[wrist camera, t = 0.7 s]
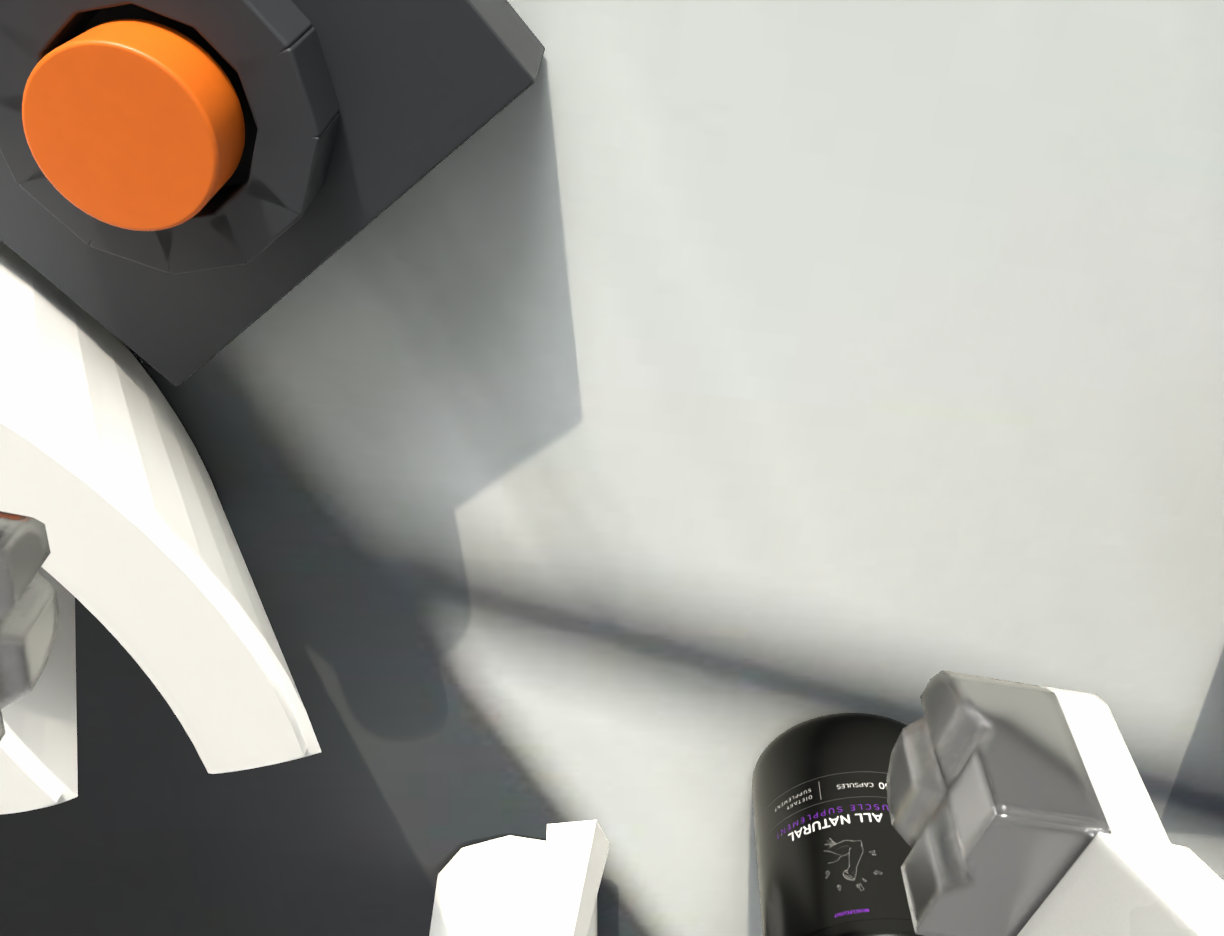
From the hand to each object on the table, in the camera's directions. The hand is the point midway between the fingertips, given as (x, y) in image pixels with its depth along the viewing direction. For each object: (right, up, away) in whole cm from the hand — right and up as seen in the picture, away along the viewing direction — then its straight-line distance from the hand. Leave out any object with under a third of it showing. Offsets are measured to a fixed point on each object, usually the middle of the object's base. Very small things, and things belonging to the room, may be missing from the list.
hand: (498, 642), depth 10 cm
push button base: (-8, +11, +15) cm, 20 cm away
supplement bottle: (+9, -9, +29) cm, 31 cm away
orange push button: (-8, +9, +11) cm, 16 cm away
